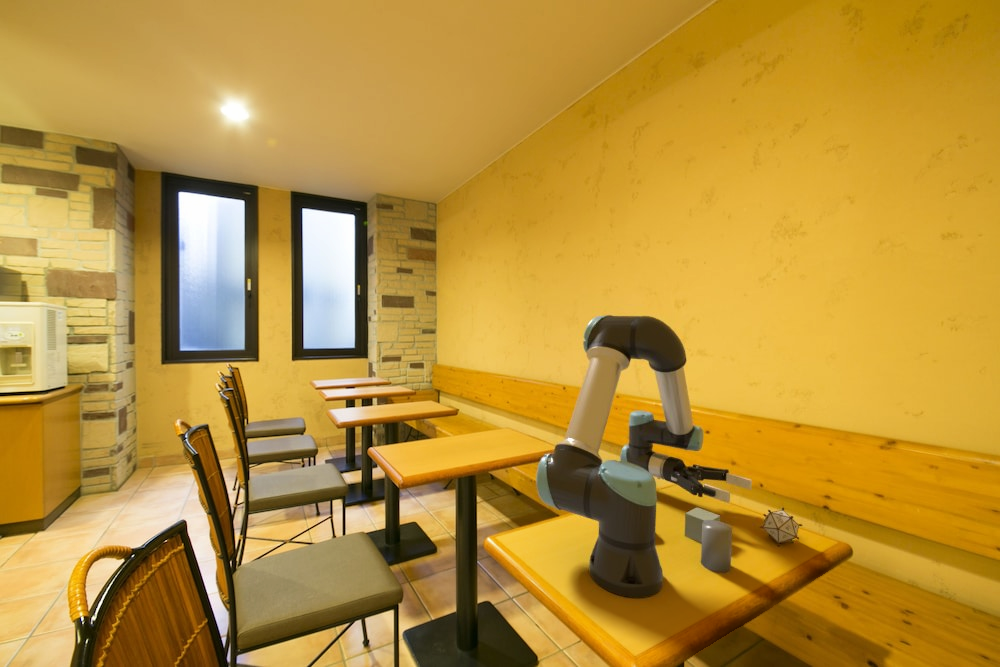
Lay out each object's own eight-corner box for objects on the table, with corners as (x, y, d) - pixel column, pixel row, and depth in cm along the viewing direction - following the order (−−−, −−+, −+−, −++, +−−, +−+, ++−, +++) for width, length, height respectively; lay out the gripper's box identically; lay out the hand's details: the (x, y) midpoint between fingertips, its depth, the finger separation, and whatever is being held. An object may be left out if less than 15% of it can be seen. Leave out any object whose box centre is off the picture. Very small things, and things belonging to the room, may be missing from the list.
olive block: (684, 536, 109) (685, 513, 109) (696, 529, 112) (696, 507, 112) (708, 546, 104) (708, 522, 104) (719, 538, 108) (720, 515, 108)
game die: (788, 559, 105) (815, 540, 99) (754, 543, 107) (778, 523, 101) (783, 528, 112) (807, 508, 106) (750, 513, 114) (772, 493, 108)
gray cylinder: (695, 563, 96) (697, 524, 96) (708, 554, 100) (709, 517, 100) (723, 576, 92) (724, 535, 91) (735, 566, 95) (736, 527, 95)
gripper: (687, 471, 139) (758, 492, 122) (644, 490, 124) (718, 517, 107) (688, 448, 139) (759, 467, 122) (645, 464, 123) (719, 488, 107)
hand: (740, 491), depth 115 cm, fingers open, 13 cm apart
